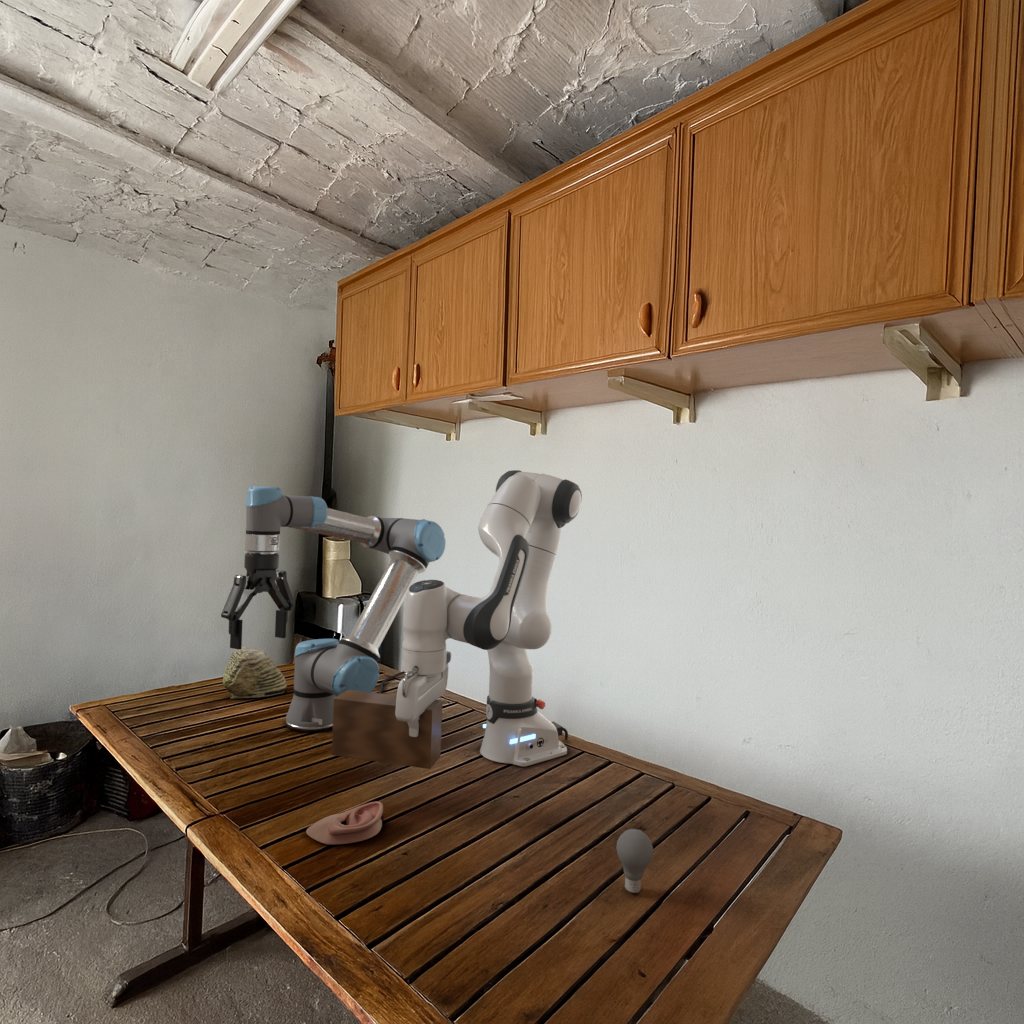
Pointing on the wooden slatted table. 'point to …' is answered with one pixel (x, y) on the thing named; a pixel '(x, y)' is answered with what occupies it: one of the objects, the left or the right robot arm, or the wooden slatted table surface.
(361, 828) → the anatomical model
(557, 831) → the wooden slatted table surface
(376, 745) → the box
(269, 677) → the fossil
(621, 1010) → the wooden slatted table surface
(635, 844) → the light bulb
